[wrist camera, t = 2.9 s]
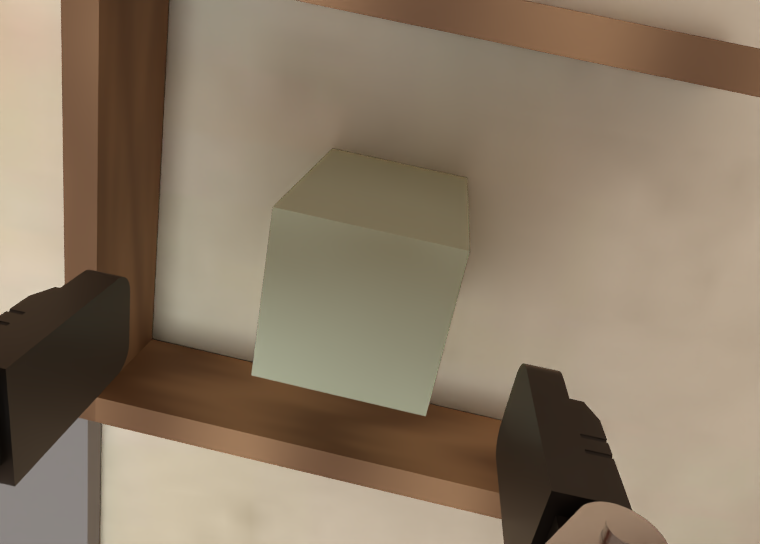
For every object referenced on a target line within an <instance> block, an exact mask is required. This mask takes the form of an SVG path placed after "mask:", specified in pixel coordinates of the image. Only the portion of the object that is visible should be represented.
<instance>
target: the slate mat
mask: <svg viewBox="0 0 760 544" xmlns="http://www.w3.org/2000/svg"><path fill="white" fill-rule="evenodd" d="M100 472H101V423H98V422H94V421H90V420H86V419H82V418H78V419H77V420H76V421H75V422H74V423H73V424H72V425H71V426H70V427H69V428H68V430H67V431H66V432H65V433H64V434H63V435H62V436H61V437H60V438H59V439H58V440H57V441H56V443H55V444H54V445H53V446H52V447H51V448H50V449H49V450H48V451H47V452H46V453H45V455H44V456H43V457H42V458H41V459H40V460H39V461H38V462H37V463H36V464H35V465H34V466H33V468H32V469H31V470H30V471H29V472H28V473H27V474H26V475H25V476H24V477H23V478H22V480H21V481H20V482H19V483H18V484H17V485H16V486H10V485H6V484H1V483H0V544H100Z"/></svg>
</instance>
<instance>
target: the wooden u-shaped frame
mask: <svg viewBox="0 0 760 544" xmlns="http://www.w3.org/2000/svg"><path fill="white" fill-rule="evenodd" d="M296 1H301V2H306V3H311V4H316V5H320V6H325V7H330V8H335V9H340V10H344V11H349V12H354V13H359V14H364V15H368V16H373V17H378V18H383V19H387V20H392V21H397V22H402V23H407V24H411V25H416V26H421V27H426V28H431V29H435V30H440V31H445V32H450V33H455V34H459V35H464V36H469V37H474V38H478V39H483V40H488V41H493V42H498V43H502V44H507V45H512V46H517V47H522V48H526V49H531V50H536V51H541V52H546V53H550V54H555V55H560V56H565V57H569V58H574V59H579V60H584V61H589V62H593V63H598V64H603V65H608V66H613V67H617V68H622V69H627V70H632V71H637V72H641V73H646V74H651V75H656V76H660V77H665V78H670V79H675V80H680V81H684V82H689V83H694V84H699V85H704V86H708V87H713V88H718V89H723V90H728V91H732V92H737V93H742V94H747V95H751V96H756V97H760V49H758V48H753V47H748V46H743V45H738V44H734V43H729V42H724V41H719V40H714V39H709V38H704V37H700V36H695V35H690V34H685V33H680V32H675V31H670V30H665V29H661V28H656V27H651V26H646V25H641V24H636V23H631V22H627V21H622V20H617V19H612V18H607V17H602V16H597V15H593V14H588V13H583V12H578V11H573V10H568V9H563V8H559V7H554V6H549V5H544V4H539V3H534V2H529V1H525V0H296ZM168 11H169V0H61V38H62V112H63V186H64V259H65V284H67V283H68V282H69V281H71V280H72V279H74V278H75V277H76V276H78V275H79V274H81V273H82V272H84V271H85V270H94V271H99V272H103V273H108V274H113V275H117V276H122V277H125V278H127V279H128V281H129V284H130V330H129V350H128V355H127V358H126V361H125V363H124V366H123V368H122V369H121V371H120V373H119V374H118V375H117V376H116V377H115V378H114V380H113V381H112V382H111V383H110V384H109V385H108V386H107V387H106V388H105V389H104V390H103V391H102V393H101V394H100V395H99V396H98V397H97V398H96V399H95V400H94V401H93V402H92V403H91V405H90V406H89V407H88V408H87V409H86V410H85V411H84V412H83V413H82V414H81V415H80V416H79V418H82V419H86V420H90V421H94V422H98V423H102V424H107V425H111V426H115V427H119V428H123V429H128V430H132V431H136V432H140V433H144V434H148V435H153V436H157V437H161V438H165V439H169V440H173V441H178V442H182V443H186V444H190V445H194V446H198V447H203V448H207V449H211V450H215V451H219V452H224V453H228V454H232V455H236V456H240V457H244V458H249V459H253V460H257V461H261V462H265V463H269V464H274V465H278V466H282V467H286V468H290V469H294V470H299V471H303V472H307V473H311V474H315V475H320V476H324V477H328V478H332V479H336V480H340V481H345V482H349V483H353V484H357V485H361V486H365V487H370V488H374V489H378V490H382V491H386V492H391V493H395V494H399V495H403V496H407V497H411V498H416V499H420V500H424V501H428V502H432V503H436V504H441V505H445V506H449V507H453V508H457V509H461V510H466V511H470V512H474V513H478V514H482V515H487V516H491V517H495V518H499V519H502V517H501V506H500V496H499V485H498V475H497V465H496V444H497V438H498V433H499V428H500V425H501V422H502V421H501V420H497V419H493V418H488V417H484V416H480V415H475V414H471V413H467V412H463V411H458V410H454V409H450V408H445V407H441V406H437V405H432V404H429V406H428V410H427V414H426V416H422V415H418V414H414V413H410V412H405V411H401V410H397V409H393V408H388V407H384V406H380V405H375V404H371V403H367V402H363V401H358V400H354V399H350V398H346V397H341V396H337V395H333V394H329V393H324V392H320V391H316V390H312V389H307V388H303V387H299V386H295V385H290V384H286V383H282V382H278V381H273V380H269V379H265V378H261V377H256V376H252V375H251V373H252V365H253V363H252V362H248V361H244V360H240V359H235V358H231V357H227V356H222V355H218V354H214V353H209V352H205V351H201V350H197V349H192V348H188V347H184V346H179V345H175V344H171V343H167V342H162V341H158V340H154V339H152V330H153V310H154V290H155V270H156V250H157V230H158V210H159V190H160V170H161V150H162V130H163V110H164V90H165V70H166V50H167V31H168Z"/></svg>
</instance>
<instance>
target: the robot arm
mask: <svg viewBox="0 0 760 544" xmlns="http://www.w3.org/2000/svg"><path fill="white" fill-rule="evenodd" d="M129 330H130V284H129V281H128V279H127V278H125V277H122V276H117V275H113V274H108V273H103V272H99V271H94V270H85V271H84V272H82V273H81V274H79V275H78V276H76V277H75V278H74V279H72V280H71V281H69V282H68V283H67V284H65V285H64V286H62V287H61V288H57V287H54V288H51V289H48V290H45V291H42V292H39V293H36V294H33V295H30V296H28V297H27V298H25V299H24V300H22V301H21V302H19V303H18V304H16V305H15V306H13V307H12V308H10V311H9V312H7V311H6V312H4V313H3V314H1V315H0V483H1V484H6V485H10V486H16V485H17V484H18V483H19V482H20V481H21V480H22V478H23V477H24V476H25V475H26V474H27V473H28V472H29V471H30V470H31V469H32V468H33V466H34V465H35V464H36V463H37V462H38V461H39V460H40V459H41V458H42V457H43V456H44V455H45V453H46V452H47V451H48V450H49V449H50V448H51V447H52V446H53V445H54V444H55V443H56V441H57V440H58V439H59V438H60V437H61V436H62V435H63V434H64V433H65V432H66V431H67V430H68V428H69V427H70V426H71V425H72V424H73V423H74V422H75V421H76V420H77V419H78V418H79V416H80V415H81V414H82V413H83V412H84V411H85V410H86V409H87V408H88V407H89V406H90V405H91V403H92V402H93V401H94V400H95V399H96V398H97V397H98V396H99V395H100V394H101V393H102V391H103V390H104V389H105V388H106V387H107V386H108V385H109V384H110V383H111V382H112V381H113V380H114V378H115V377H116V376H117V375H118V374H119V373H120V371H121V369H122V368H123V366H124V363H125V361H126V358H127V355H128V350H129ZM606 440H607V439H606V436H605V433H604V431H603V428H602V425H601V422H600V420H599V419H598V418H597V417H596V416H595V414H594V413H593V412H592V411H591V410H590V409H589V408H588V406H587V405H586V404H585V403H584V402H582V401H577V400H573V399H569V396H568V392H567V389H566V386H565V382H564V379H563V376H562V373H561V372H560V371H556V370H552V369H547V368H542V367H538V366H533V365H528V364H522V365H521V366H520V368H519V370H518V372H517V375H516V378H515V381H514V384H513V388H512V391H511V394H510V397H509V400H508V403H507V406H506V409H505V412H504V416H503V419H502V422H501V425H500V428H499V433H498V438H497V444H496V465H497V475H498V485H499V496H500V506H501V517H502V527H503V537H504V544H668V543H667V542H666V540H665V538H664V537H663V536H662V534H661V533H660V532H659V531H658V530H657V529H656V528H655V527H654V526H653V525H652V524H651V523H650V522H649V521H648V520H646V519H645V518H643V517H642V516H641V515H639V514H637V513H636V512H634V511H632V509H631V506H630V503H629V500H628V497H627V495H626V492H625V489H624V486H623V484H622V481H621V478H620V475H619V472H618V470H617V467H616V464H615V461H614V459H612V453H611V450H610V447H609V445H608V443H606Z"/></svg>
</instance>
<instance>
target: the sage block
mask: <svg viewBox="0 0 760 544" xmlns="http://www.w3.org/2000/svg"><path fill="white" fill-rule="evenodd" d="M469 253H470V238H469V212H468V185H467V178H466V177H461V176H457V175H452V174H448V173H443V172H438V171H434V170H429V169H425V168H420V167H415V166H411V165H406V164H402V163H397V162H393V161H388V160H383V159H379V158H374V157H370V156H365V155H361V154H356V153H351V152H347V151H342V150H338V149H332V150H331V151H330V152H328V153H327V154H326V155H325V156H324V157H323V158H322V159H321V160H320V161H319V162H318V163H317V164H316V165H315V166H314V167H313V168H312V169H311V170H310V171H309V172H308V173H307V174H306V175H305V176H304V177H303V178H302V179H301V180H300V181H299V182H298V183H297V184H296V185H295V186H294V187H293V188H292V189H291V190H290V191H289V192H288V193H287V194H286V195H284V196H283V197H282V198H281V199H280V200H279V201H278V202H277V203H276V204H275V205H274V206H273V209H272V216H271V224H270V232H269V240H268V248H267V256H266V263H265V271H264V279H263V287H262V295H261V303H260V310H259V318H258V326H257V334H256V342H255V350H254V357H253V365H252V373H251V375H252V376H256V377H261V378H265V379H269V380H273V381H278V382H282V383H286V384H290V385H295V386H299V387H303V388H307V389H312V390H316V391H320V392H324V393H329V394H333V395H337V396H341V397H346V398H350V399H354V400H358V401H363V402H367V403H371V404H375V405H380V406H384V407H388V408H393V409H397V410H401V411H405V412H410V413H414V414H418V415H422V416H426V414H427V410H428V406H429V402H430V399H431V395H432V391H433V387H434V384H435V380H436V376H437V372H438V369H439V365H440V361H441V358H442V354H443V350H444V346H445V343H446V339H447V335H448V331H449V328H450V324H451V320H452V316H453V313H454V309H455V305H456V301H457V298H458V294H459V290H460V287H461V283H462V279H463V275H464V272H465V268H466V264H467V260H468V257H469Z"/></svg>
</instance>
